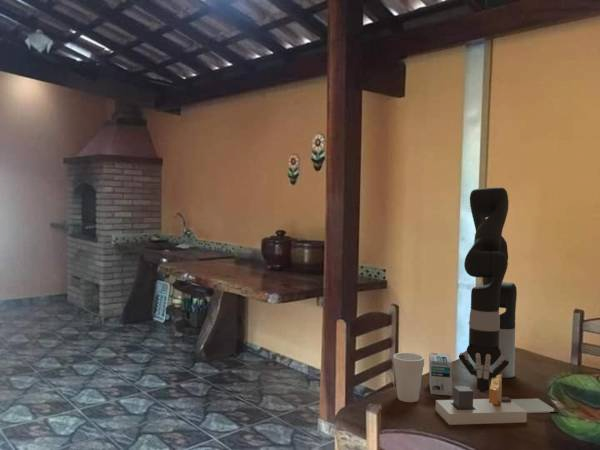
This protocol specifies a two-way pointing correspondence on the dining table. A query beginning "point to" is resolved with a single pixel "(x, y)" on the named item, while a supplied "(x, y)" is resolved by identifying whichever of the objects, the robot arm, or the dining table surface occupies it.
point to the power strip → (482, 412)
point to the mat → (533, 405)
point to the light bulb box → (440, 374)
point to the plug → (462, 398)
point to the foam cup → (408, 375)
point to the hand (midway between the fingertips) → (482, 391)
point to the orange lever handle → (496, 390)
